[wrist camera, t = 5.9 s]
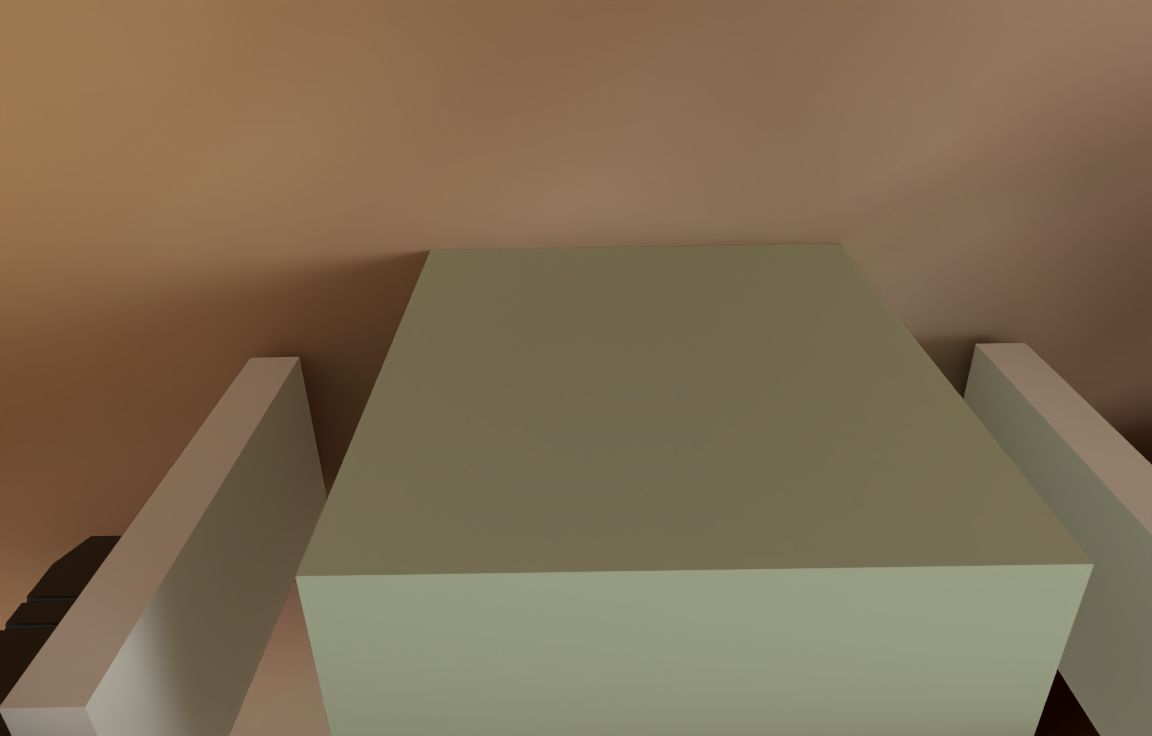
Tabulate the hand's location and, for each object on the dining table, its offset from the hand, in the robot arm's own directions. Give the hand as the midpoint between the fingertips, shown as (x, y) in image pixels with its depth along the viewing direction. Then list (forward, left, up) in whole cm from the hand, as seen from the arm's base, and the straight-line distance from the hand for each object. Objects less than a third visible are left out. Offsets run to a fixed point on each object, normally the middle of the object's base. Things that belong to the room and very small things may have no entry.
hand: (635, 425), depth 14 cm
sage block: (0, 0, 0) cm, 0 cm away
